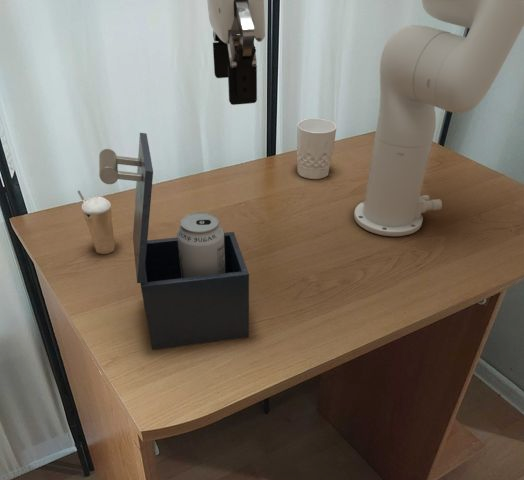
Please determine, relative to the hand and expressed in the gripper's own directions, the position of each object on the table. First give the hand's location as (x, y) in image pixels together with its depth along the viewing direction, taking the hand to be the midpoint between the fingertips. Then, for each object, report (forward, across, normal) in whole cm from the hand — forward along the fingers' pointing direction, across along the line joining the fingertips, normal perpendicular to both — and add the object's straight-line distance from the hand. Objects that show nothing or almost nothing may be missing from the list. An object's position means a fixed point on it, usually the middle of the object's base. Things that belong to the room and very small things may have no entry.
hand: (234, 89), depth 66 cm
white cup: (+30, +35, -23) cm, 52 cm away
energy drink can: (+28, -8, +7) cm, 30 cm away
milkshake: (+29, +14, +21) cm, 38 cm away
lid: (+10, -8, +13) cm, 19 cm away
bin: (+29, -8, +8) cm, 31 cm away
